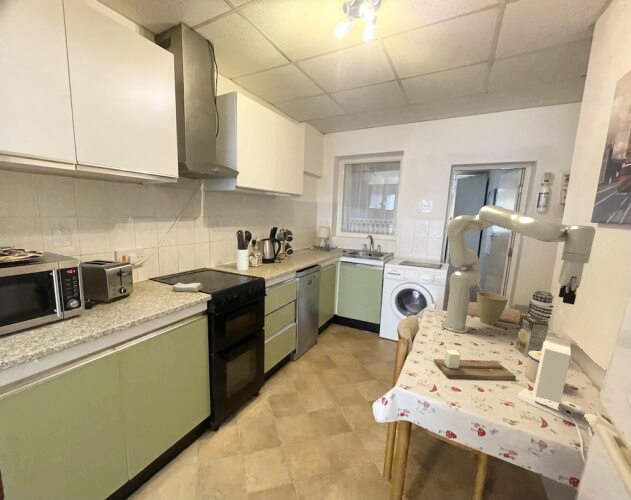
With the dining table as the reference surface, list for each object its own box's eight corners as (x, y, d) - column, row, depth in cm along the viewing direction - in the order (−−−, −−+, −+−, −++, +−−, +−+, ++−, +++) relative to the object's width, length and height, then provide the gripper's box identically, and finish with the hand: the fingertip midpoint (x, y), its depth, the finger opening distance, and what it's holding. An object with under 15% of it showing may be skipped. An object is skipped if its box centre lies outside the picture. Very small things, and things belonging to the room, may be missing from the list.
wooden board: (433, 362, 105) (434, 358, 105) (495, 364, 107) (496, 360, 106) (447, 378, 95) (448, 374, 95) (515, 380, 97) (516, 376, 97)
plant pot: (509, 328, 145) (514, 300, 142) (483, 327, 144) (488, 299, 142) (491, 317, 159) (495, 292, 157) (467, 316, 159) (471, 291, 157)
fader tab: (444, 363, 101) (445, 350, 101) (453, 363, 102) (455, 350, 101) (448, 367, 99) (450, 354, 98) (458, 368, 99) (460, 354, 98)
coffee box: (514, 347, 123) (520, 314, 121) (529, 349, 122) (536, 316, 119) (525, 357, 114) (532, 322, 112) (542, 359, 113) (549, 324, 111)
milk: (532, 393, 90) (544, 332, 87) (556, 401, 87) (569, 338, 84) (534, 402, 85) (546, 338, 82) (559, 411, 82) (573, 345, 79)
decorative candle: (536, 335, 137) (545, 289, 134) (551, 344, 128) (561, 295, 124) (518, 334, 137) (527, 288, 134) (532, 343, 128) (541, 294, 125)
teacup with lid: (556, 391, 92) (563, 360, 90) (524, 379, 97) (529, 350, 96) (552, 375, 102) (558, 347, 100) (522, 366, 107) (528, 339, 105)
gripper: (558, 254, 109) (550, 293, 112) (565, 258, 95) (556, 303, 98) (583, 257, 105) (574, 297, 107) (594, 261, 91) (584, 308, 94)
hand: (565, 300), depth 103 cm, fingers open, 9 cm apart
